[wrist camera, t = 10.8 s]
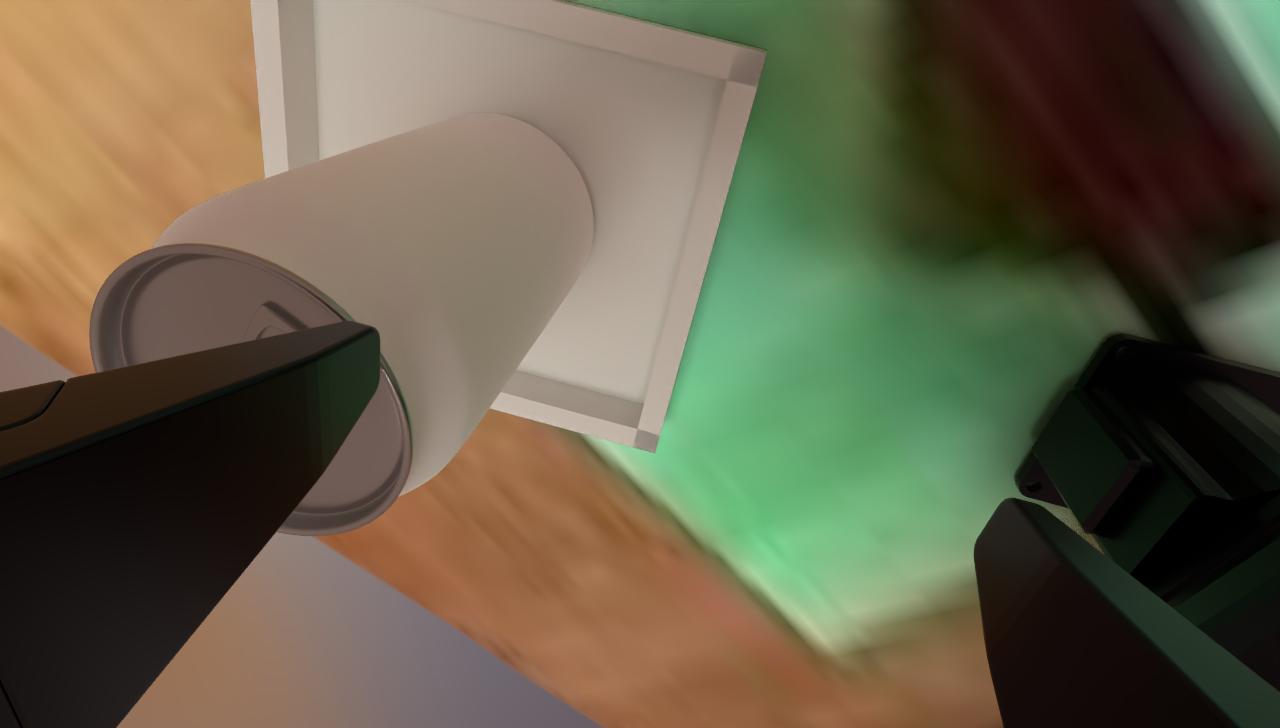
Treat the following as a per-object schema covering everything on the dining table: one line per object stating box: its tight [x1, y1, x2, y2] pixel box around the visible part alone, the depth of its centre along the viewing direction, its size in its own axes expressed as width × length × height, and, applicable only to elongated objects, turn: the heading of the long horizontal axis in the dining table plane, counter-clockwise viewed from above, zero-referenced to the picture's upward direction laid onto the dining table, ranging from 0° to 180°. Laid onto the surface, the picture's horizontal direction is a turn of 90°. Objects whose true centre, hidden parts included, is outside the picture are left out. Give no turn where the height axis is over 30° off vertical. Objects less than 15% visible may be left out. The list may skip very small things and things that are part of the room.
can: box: [90, 113, 594, 536], centre depth 16 cm, size 6×6×12 cm
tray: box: [250, 0, 767, 453], centre depth 21 cm, size 14×13×2 cm
